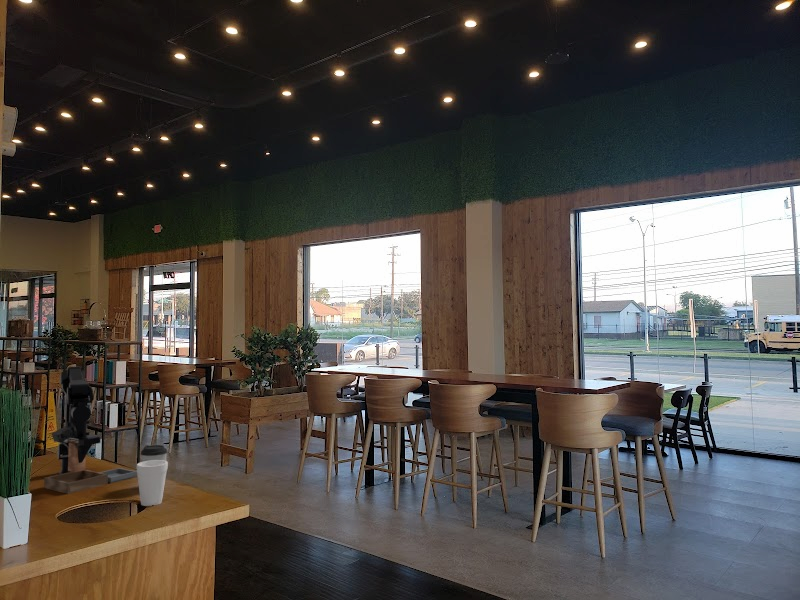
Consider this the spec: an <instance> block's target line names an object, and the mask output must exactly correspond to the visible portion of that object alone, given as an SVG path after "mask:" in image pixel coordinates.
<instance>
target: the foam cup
mask: <svg viewBox="0 0 800 600" xmlns="http://www.w3.org/2000/svg"><path fill="white" fill-rule="evenodd" d="M168 466H169V462H168V460H167V461H164V460H151V461H144V462H141V461H140V462H138V463H137V464H136V471H137V481H138V490H139V491H138V492H139V499H140V500H139V501H140V505H141V506H143V507H144V506H145V507H152V505H154V506H156V505H160V504H162V502H163V496H164V489H165V483H166V477H167V471H168Z"/></svg>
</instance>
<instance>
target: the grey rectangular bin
mask: <svg viewBox="0 0 800 600" xmlns="http://www.w3.org/2000/svg"><path fill="white" fill-rule="evenodd" d="M99 473H104V474H108V482H107V484H115V483H117V482H118V483H119V482H121V481H126V480H130V479H133V478H138V474H137V470H132V469H131V470H130V469H126V468H121V467H118V468H117V467H116V468H113V469H108V470H104V471H99Z"/></svg>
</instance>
